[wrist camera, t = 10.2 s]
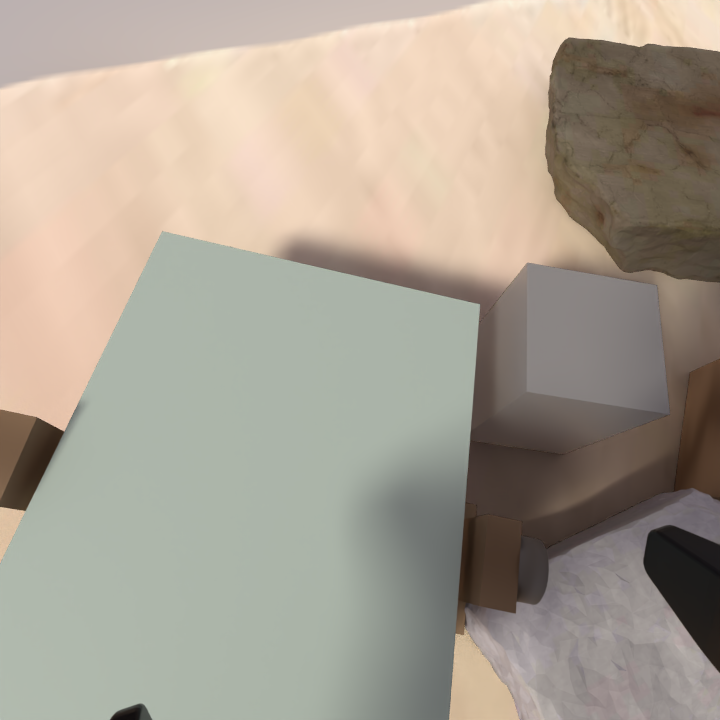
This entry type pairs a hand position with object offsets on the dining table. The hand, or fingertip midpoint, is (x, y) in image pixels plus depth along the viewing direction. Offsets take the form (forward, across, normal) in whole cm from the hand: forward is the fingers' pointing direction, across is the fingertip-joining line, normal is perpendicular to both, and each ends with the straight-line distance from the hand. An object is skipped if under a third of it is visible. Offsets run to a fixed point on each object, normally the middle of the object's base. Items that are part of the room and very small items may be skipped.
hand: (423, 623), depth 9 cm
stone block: (+6, -10, +14) cm, 18 cm away
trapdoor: (+11, +2, +5) cm, 12 cm away
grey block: (+14, -10, +5) cm, 18 cm away
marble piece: (+22, -24, -2) cm, 33 cm away
